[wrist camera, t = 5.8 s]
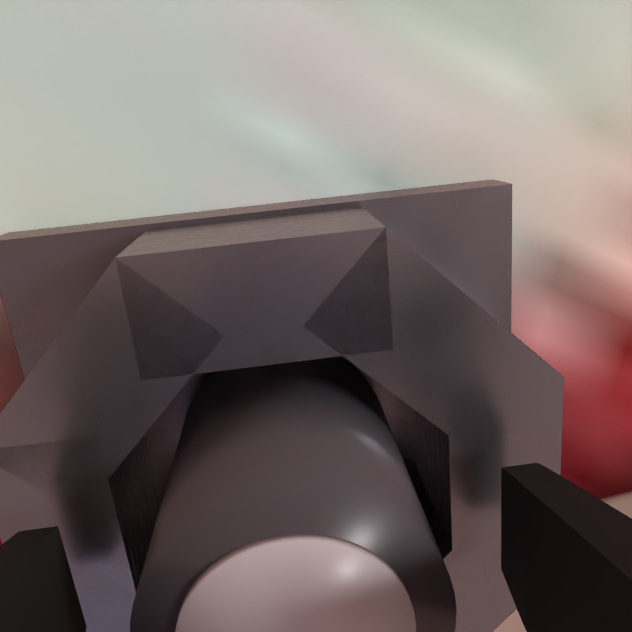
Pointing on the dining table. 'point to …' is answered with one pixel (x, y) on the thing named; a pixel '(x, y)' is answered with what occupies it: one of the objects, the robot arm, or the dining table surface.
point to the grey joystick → (267, 349)
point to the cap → (291, 514)
